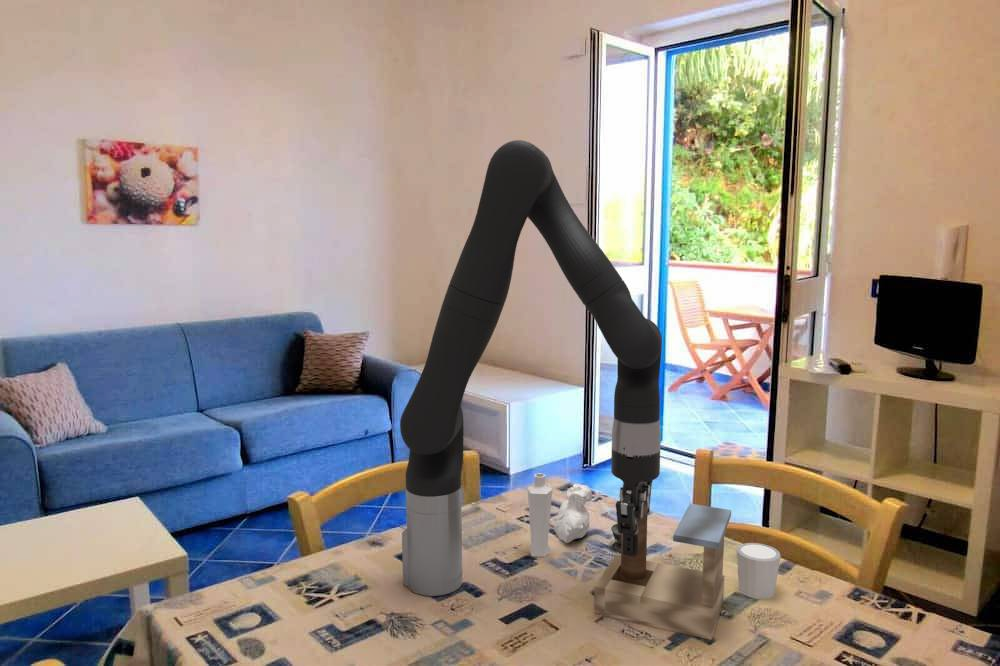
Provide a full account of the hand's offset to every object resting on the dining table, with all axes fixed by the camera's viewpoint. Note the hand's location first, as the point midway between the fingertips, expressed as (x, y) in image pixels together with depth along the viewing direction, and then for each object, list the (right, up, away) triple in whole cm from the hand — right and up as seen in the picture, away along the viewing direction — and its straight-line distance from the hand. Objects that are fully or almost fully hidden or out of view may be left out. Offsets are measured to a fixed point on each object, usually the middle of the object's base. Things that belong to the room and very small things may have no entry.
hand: (633, 548), depth 118 cm
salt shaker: (+2, -6, +21) cm, 22 cm away
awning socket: (+4, -9, 0) cm, 10 cm away
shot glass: (+21, -9, +5) cm, 23 cm away
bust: (-7, -5, +26) cm, 28 cm away
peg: (0, -4, +1) cm, 4 cm away
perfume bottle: (-14, -6, +19) cm, 24 cm away
